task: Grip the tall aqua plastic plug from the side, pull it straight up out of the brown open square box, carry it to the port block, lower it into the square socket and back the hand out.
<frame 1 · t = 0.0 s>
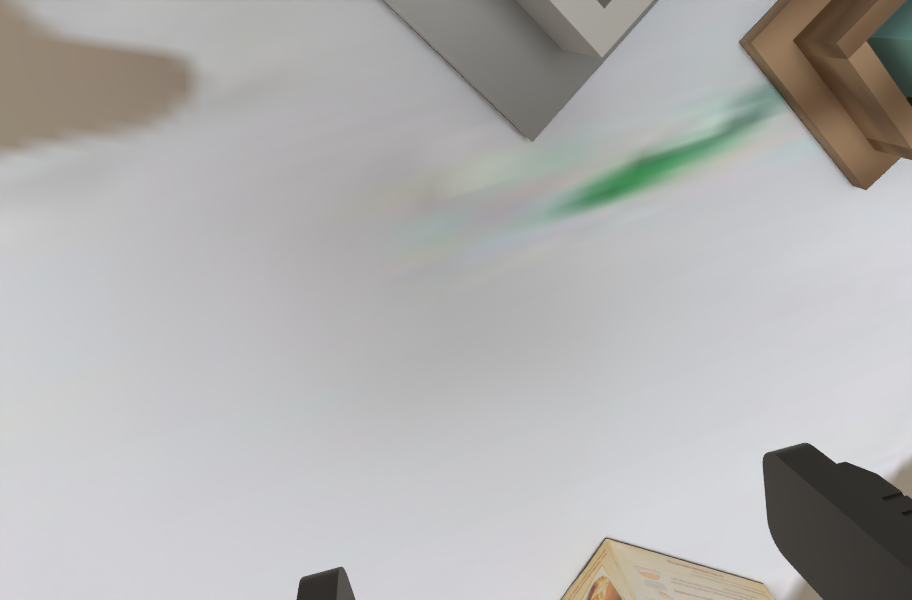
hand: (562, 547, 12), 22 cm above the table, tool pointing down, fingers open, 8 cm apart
brown open square box: (885, 32, 32), on the table
coffeecake box: (662, 591, 47), on the table
plug: (901, 32, 31), point 1 cm above the table, touching brown open square box
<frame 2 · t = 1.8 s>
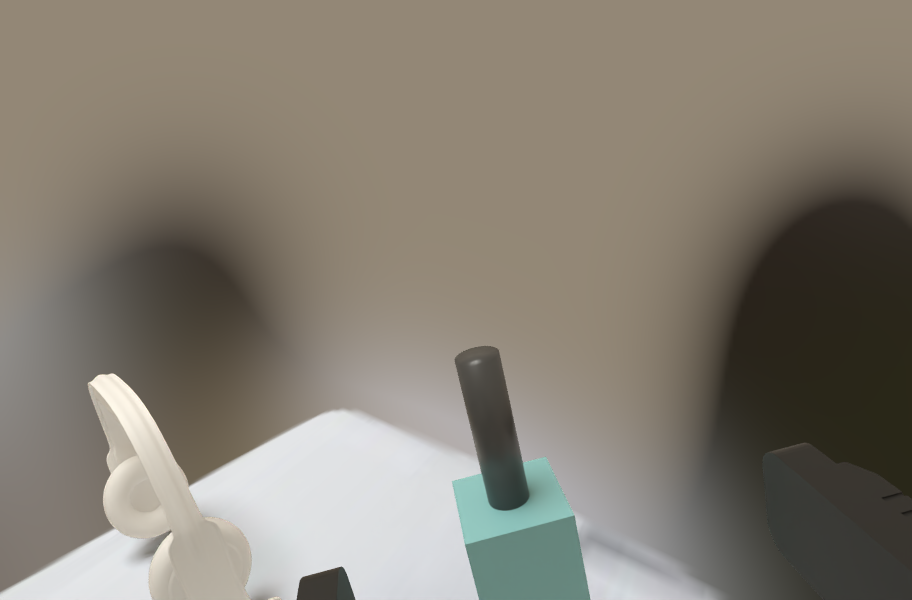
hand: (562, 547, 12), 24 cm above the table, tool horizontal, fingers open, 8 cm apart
headset: (197, 581, 51), on the table
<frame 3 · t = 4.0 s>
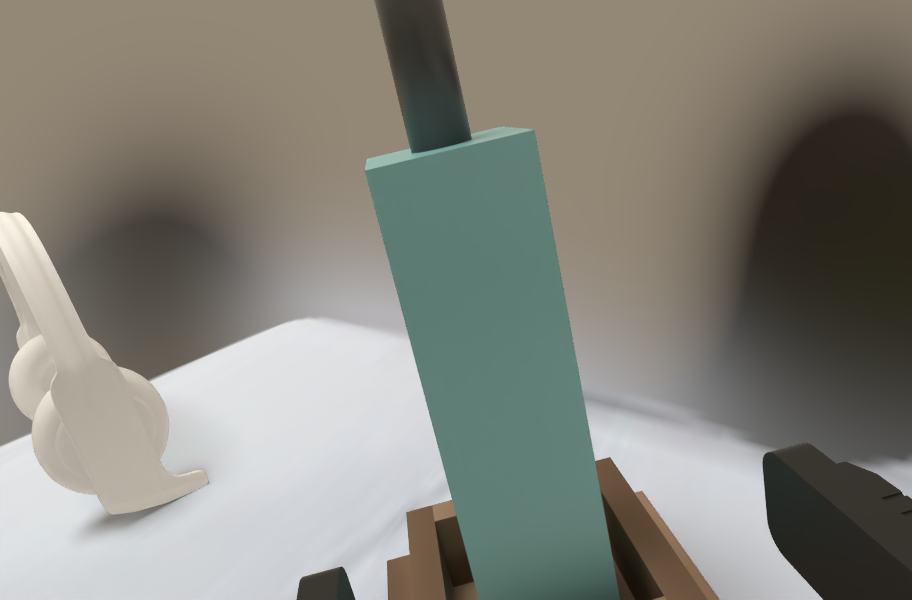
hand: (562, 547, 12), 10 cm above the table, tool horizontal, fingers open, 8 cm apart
headset: (116, 469, 43), on the table
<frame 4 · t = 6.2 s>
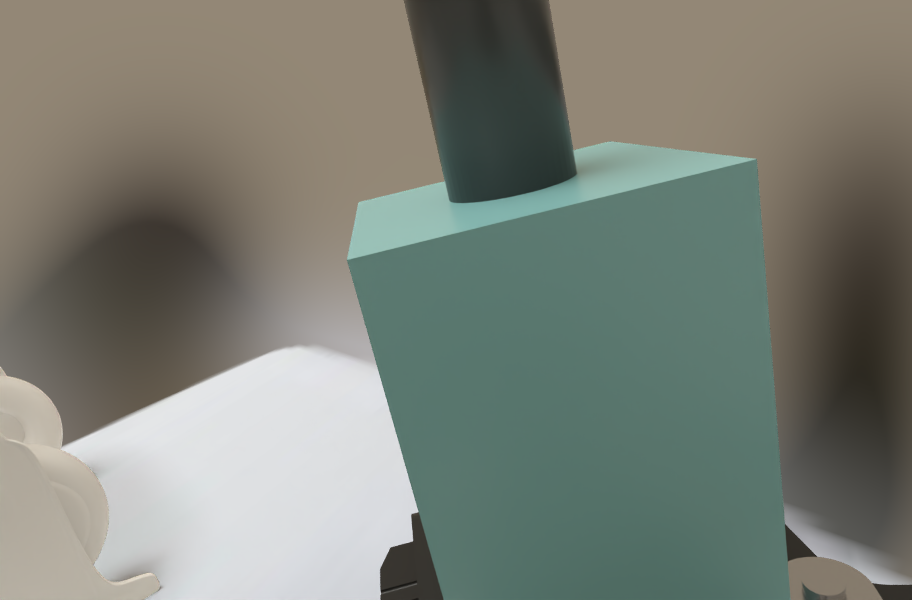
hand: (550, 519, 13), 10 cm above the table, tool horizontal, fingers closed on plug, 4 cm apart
headset: (52, 554, 35), on the table
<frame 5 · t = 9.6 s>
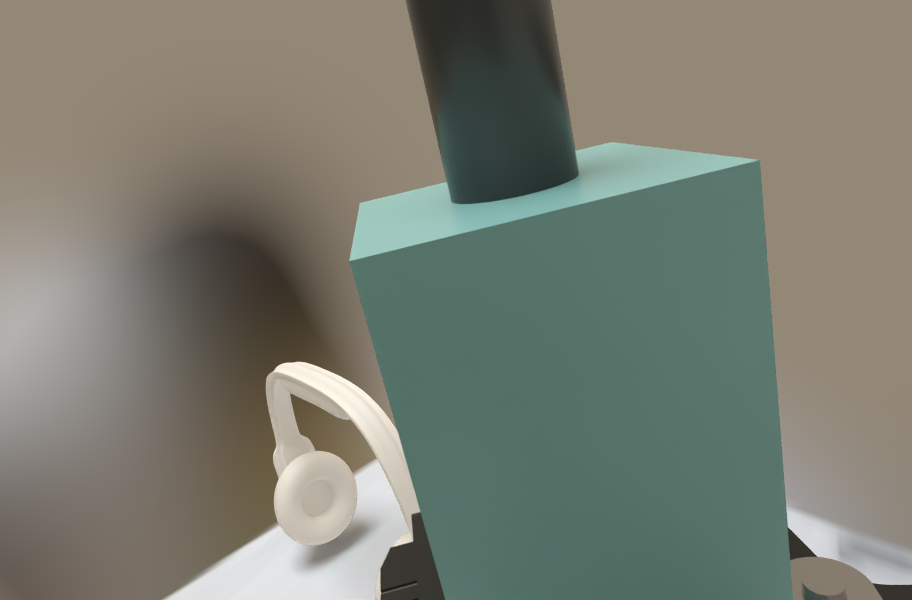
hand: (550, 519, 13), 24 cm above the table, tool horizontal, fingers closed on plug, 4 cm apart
headset: (385, 593, 46), on the table
when the fingers open (11 cm above the table, at t = 13.2 s): plug drops 1 cm, resting on port.
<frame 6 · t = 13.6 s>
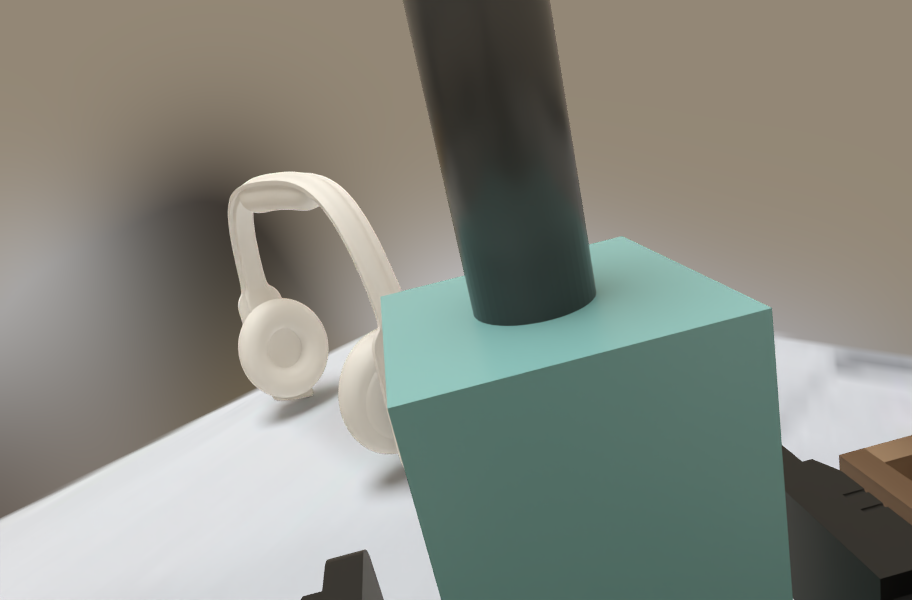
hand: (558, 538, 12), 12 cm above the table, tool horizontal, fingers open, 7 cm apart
headset: (356, 435, 43), on the table
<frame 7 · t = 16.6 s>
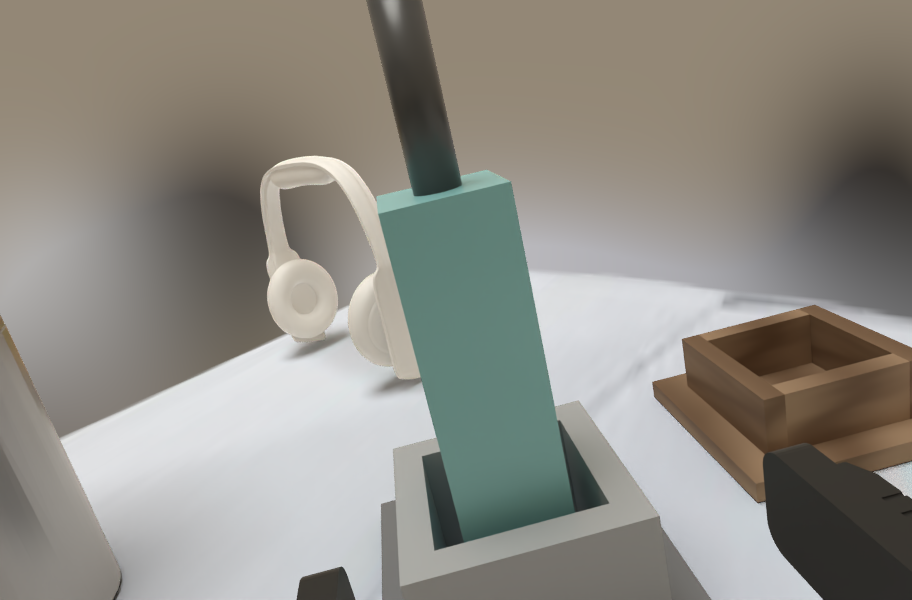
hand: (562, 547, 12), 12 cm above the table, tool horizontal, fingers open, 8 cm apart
headset: (360, 363, 55), on the table
brown open square box: (796, 415, 34), on the table
plug: (528, 584, 25), point 1 cm above the table, touching port
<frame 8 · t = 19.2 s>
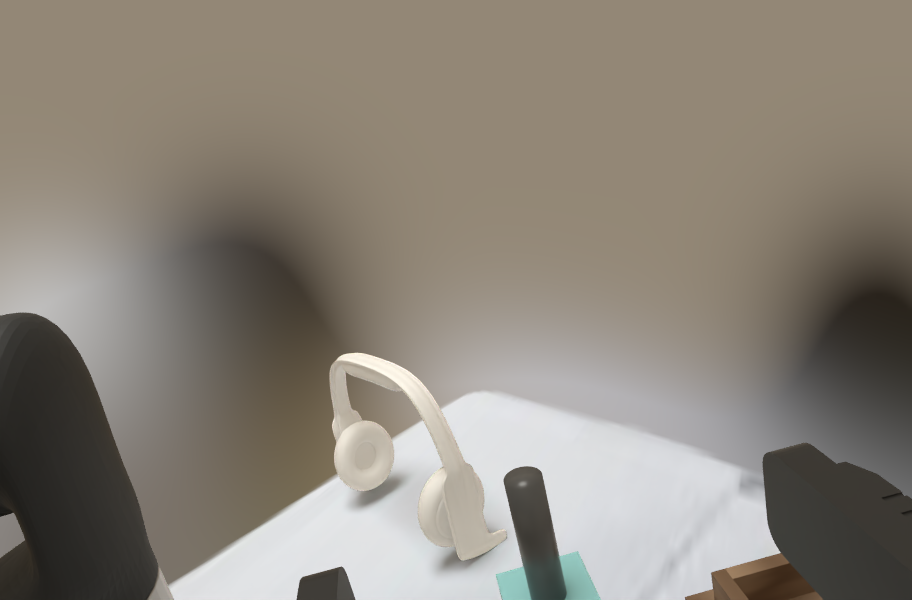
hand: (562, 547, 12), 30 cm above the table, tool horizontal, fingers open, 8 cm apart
headset: (418, 522, 63), on the table
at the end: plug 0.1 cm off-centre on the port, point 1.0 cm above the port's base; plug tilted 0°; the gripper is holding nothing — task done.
